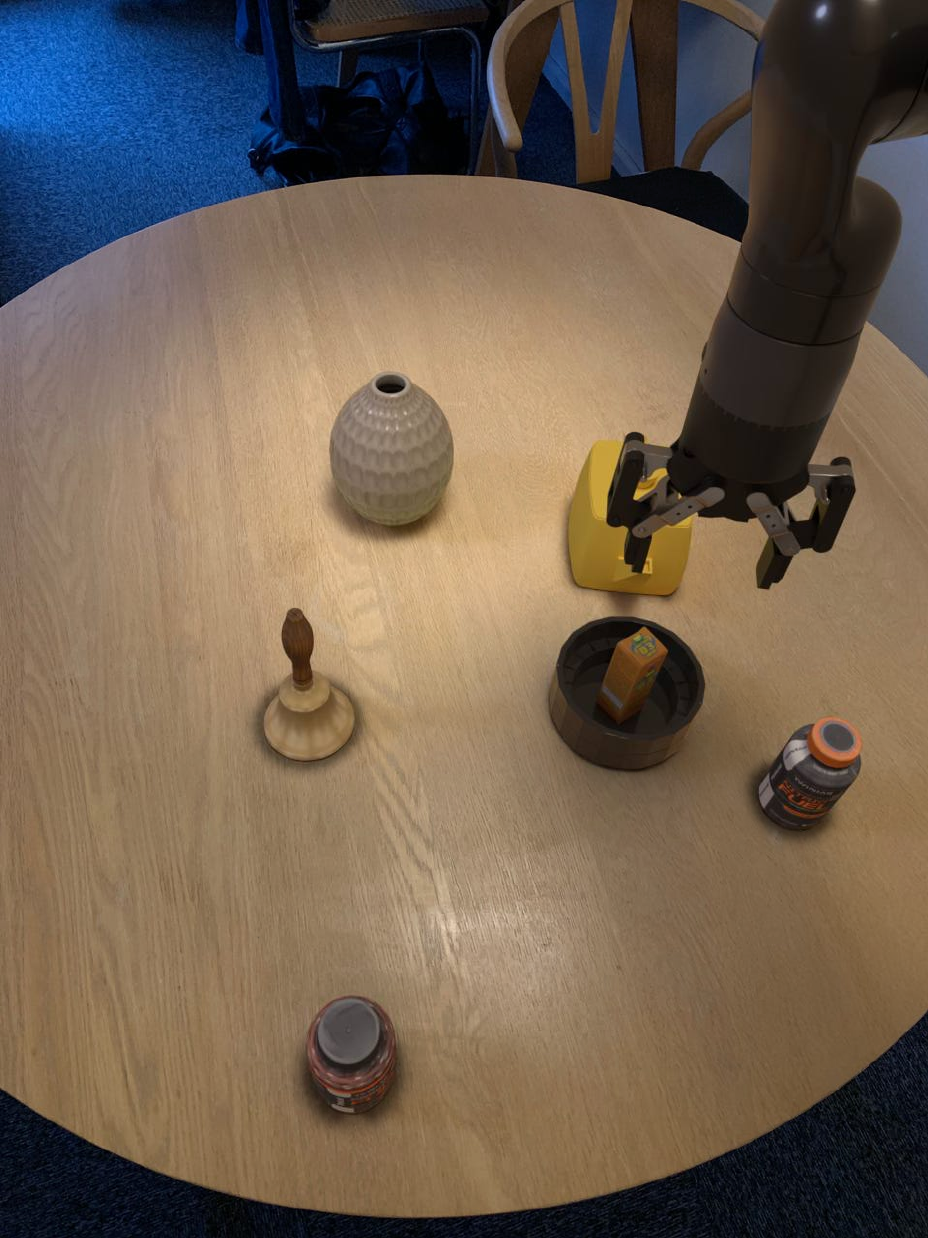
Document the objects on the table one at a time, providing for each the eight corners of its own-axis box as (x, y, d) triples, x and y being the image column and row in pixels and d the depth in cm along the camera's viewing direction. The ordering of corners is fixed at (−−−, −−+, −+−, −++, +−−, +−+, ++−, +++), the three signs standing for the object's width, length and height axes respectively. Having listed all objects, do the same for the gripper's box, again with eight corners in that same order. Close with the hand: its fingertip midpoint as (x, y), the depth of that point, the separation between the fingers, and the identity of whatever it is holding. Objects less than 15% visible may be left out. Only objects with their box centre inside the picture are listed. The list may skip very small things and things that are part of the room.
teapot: (686, 634, 94) (717, 557, 84) (563, 622, 94) (580, 543, 84) (676, 492, 106) (702, 411, 96) (567, 482, 106) (582, 400, 97)
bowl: (717, 723, 88) (735, 688, 83) (615, 799, 82) (628, 767, 77) (620, 631, 94) (632, 594, 89) (520, 697, 88) (526, 661, 83)
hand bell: (278, 677, 88) (256, 568, 76) (363, 691, 88) (356, 583, 75) (252, 753, 83) (224, 650, 71) (343, 768, 83) (331, 667, 70)
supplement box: (619, 728, 86) (641, 667, 78) (594, 702, 87) (613, 639, 79) (645, 710, 87) (669, 648, 79) (621, 685, 89) (642, 622, 81)
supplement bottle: (359, 1135, 66) (351, 1104, 57) (297, 1078, 68) (280, 1040, 59) (413, 1062, 69) (413, 1022, 60) (351, 1010, 71) (343, 963, 62)
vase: (426, 453, 108) (428, 330, 94) (469, 531, 101) (478, 410, 87) (319, 480, 104) (306, 356, 91) (356, 562, 97) (347, 441, 84)
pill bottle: (752, 819, 82) (795, 756, 73) (761, 762, 85) (803, 696, 76) (821, 840, 81) (873, 779, 72) (827, 782, 84) (877, 717, 75)
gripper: (638, 405, 49) (592, 600, 62) (912, 437, 48) (809, 628, 61) (640, 323, 54) (597, 520, 66) (891, 351, 53) (799, 545, 66)
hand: (699, 571), depth 64 cm, fingers open, 8 cm apart
